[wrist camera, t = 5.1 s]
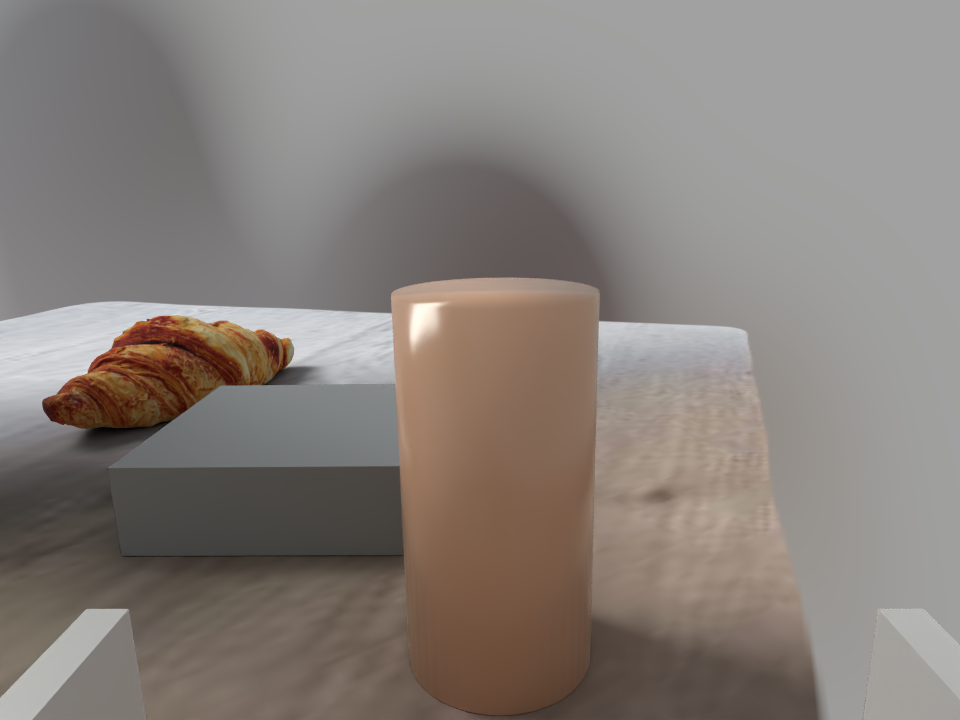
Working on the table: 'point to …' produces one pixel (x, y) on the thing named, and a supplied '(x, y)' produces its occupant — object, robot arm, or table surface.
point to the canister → (497, 486)
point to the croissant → (166, 372)
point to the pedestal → (266, 476)
